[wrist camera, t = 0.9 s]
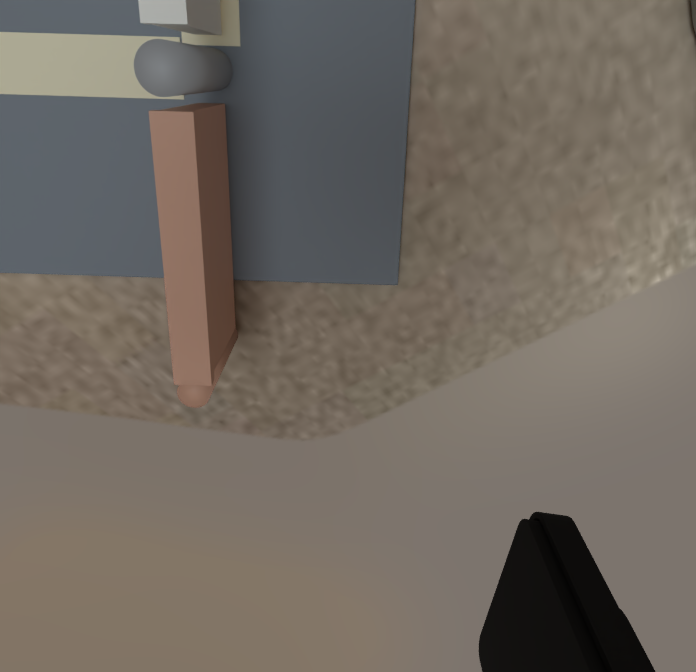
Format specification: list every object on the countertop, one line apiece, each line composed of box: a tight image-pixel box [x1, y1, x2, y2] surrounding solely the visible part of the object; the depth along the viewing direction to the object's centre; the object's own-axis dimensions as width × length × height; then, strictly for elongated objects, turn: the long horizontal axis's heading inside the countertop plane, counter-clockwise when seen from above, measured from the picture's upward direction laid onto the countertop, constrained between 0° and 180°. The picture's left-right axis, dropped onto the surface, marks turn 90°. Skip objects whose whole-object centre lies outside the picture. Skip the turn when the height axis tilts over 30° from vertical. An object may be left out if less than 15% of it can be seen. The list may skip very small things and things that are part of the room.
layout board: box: [0, 0, 415, 285], centre depth 25 cm, size 22×20×8 cm
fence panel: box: [149, 103, 238, 408], centre depth 27 cm, size 12×2×7 cm, turn 178°
